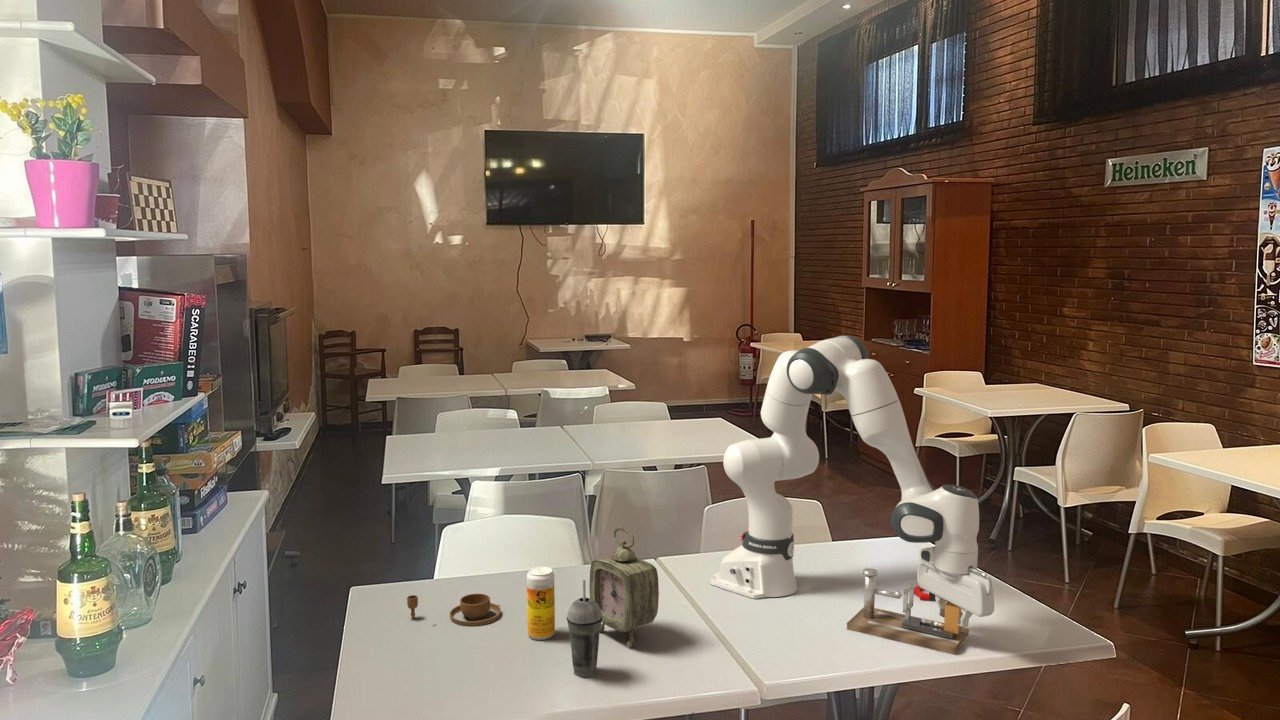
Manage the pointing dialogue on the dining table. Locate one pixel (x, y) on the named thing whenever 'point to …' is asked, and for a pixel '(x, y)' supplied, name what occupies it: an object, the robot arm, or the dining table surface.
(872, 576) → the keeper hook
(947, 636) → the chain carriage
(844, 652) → the dining table surface
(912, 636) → the board
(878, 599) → the dining table surface
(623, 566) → the tabletop clock
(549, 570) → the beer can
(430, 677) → the dining table surface
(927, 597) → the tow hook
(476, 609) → the place setting
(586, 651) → the beverage cup
